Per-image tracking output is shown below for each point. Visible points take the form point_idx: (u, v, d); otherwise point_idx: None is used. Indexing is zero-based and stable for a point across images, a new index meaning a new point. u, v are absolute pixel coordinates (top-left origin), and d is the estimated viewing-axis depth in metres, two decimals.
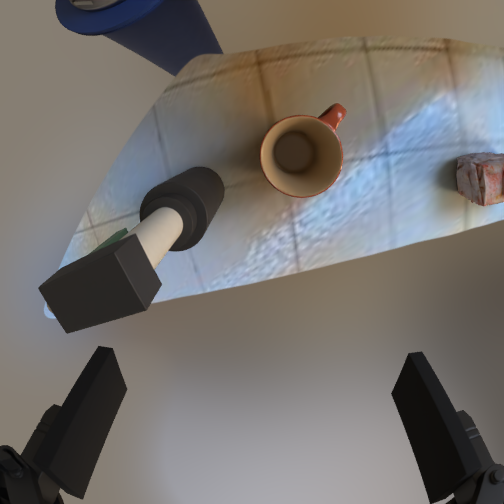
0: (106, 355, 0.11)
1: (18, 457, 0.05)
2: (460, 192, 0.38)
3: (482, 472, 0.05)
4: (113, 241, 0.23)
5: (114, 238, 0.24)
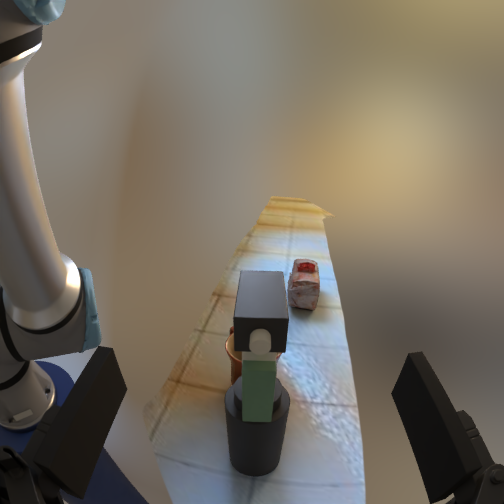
0: (106, 355, 0.11)
1: (18, 457, 0.05)
2: (313, 306, 0.69)
3: (482, 472, 0.05)
4: None
5: None
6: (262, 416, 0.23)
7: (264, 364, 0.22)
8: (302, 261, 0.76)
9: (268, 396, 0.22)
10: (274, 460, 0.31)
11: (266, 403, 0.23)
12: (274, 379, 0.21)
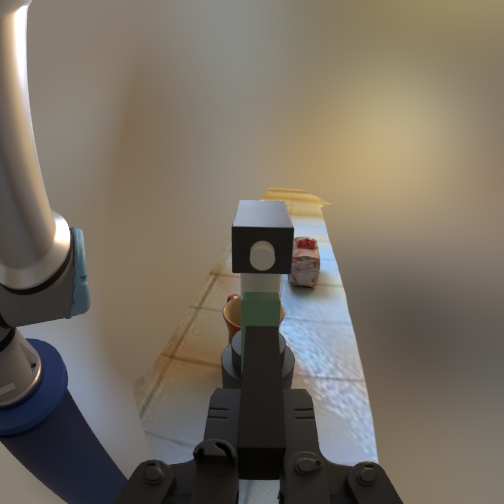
0: (260, 332, 0.13)
1: (235, 457, 0.07)
2: (313, 284, 0.68)
3: (286, 464, 0.07)
4: None
5: None
6: None
7: (267, 295, 0.20)
8: (301, 239, 0.74)
9: None
10: None
11: None
12: (279, 312, 0.19)
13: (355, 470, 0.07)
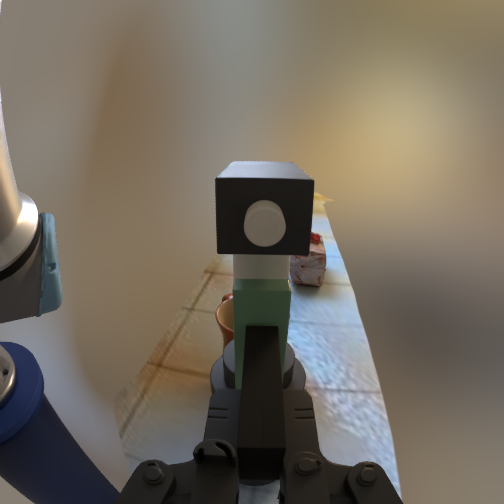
0: (260, 332, 0.13)
1: (235, 457, 0.07)
2: (319, 282, 0.61)
3: (286, 464, 0.07)
4: None
5: None
6: None
7: (271, 283, 0.14)
8: None
9: None
10: None
11: None
12: (288, 308, 0.13)
13: (355, 470, 0.07)
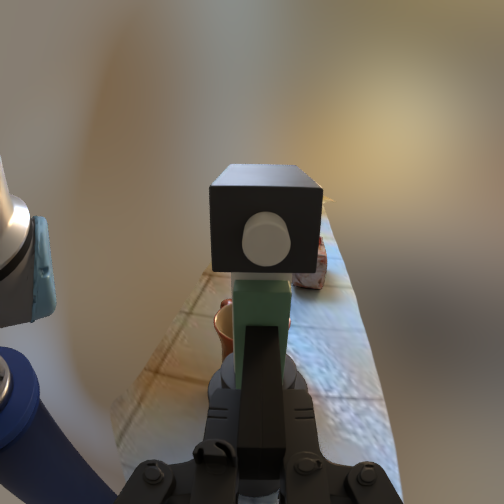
0: (260, 332, 0.13)
1: (235, 457, 0.07)
2: (320, 285, 0.60)
3: None
4: None
5: None
6: None
7: (271, 285, 0.14)
8: None
9: None
10: None
11: None
12: (288, 309, 0.13)
13: (355, 470, 0.07)
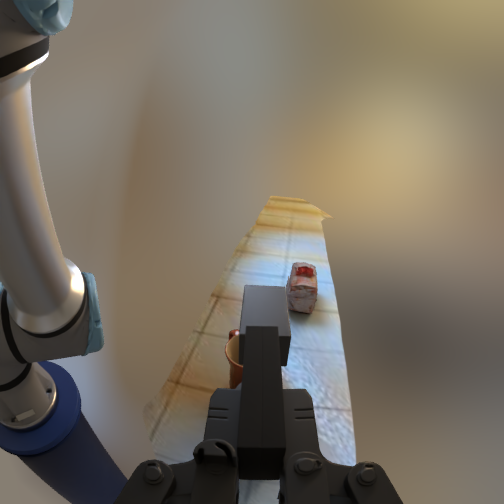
0: (260, 332, 0.13)
1: (235, 457, 0.07)
2: (310, 310, 0.71)
3: (286, 464, 0.07)
4: None
5: None
6: None
7: None
8: (300, 265, 0.77)
9: None
10: None
11: None
12: None
13: (355, 470, 0.07)
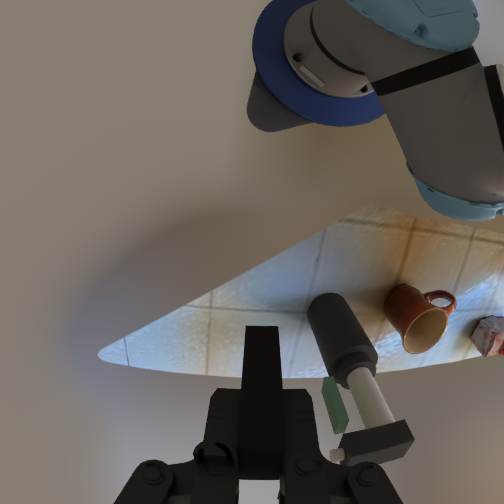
0: (260, 332, 0.13)
1: (235, 457, 0.07)
2: (472, 339, 0.53)
3: (286, 464, 0.07)
4: (339, 395, 0.30)
5: None
6: (323, 392, 0.32)
7: (341, 429, 0.26)
8: None
9: (329, 412, 0.29)
10: None
11: (327, 405, 0.30)
12: None
13: (355, 470, 0.07)
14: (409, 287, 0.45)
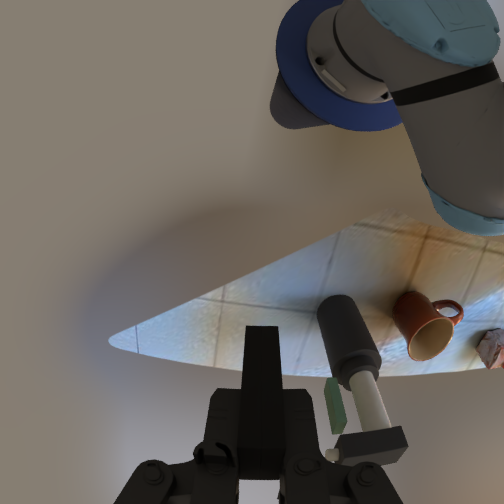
0: (260, 332, 0.13)
1: (235, 457, 0.07)
2: (477, 350, 0.52)
3: (286, 464, 0.07)
4: (340, 396, 0.30)
5: None
6: (325, 392, 0.33)
7: (339, 430, 0.27)
8: None
9: (328, 412, 0.30)
10: None
11: (327, 405, 0.31)
12: (331, 428, 0.28)
13: (355, 470, 0.07)
14: (418, 294, 0.45)
